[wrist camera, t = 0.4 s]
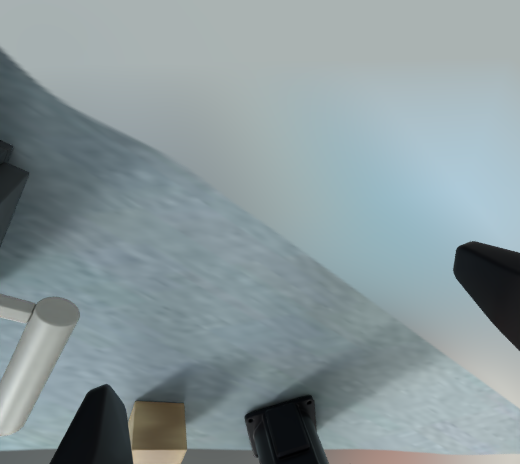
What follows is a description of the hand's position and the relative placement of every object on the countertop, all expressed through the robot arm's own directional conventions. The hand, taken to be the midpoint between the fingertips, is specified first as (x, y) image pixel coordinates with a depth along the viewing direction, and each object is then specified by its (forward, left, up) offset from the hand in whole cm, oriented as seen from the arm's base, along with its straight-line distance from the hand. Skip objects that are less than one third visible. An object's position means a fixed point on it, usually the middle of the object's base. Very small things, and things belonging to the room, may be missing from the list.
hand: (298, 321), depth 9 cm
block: (-21, +9, -15) cm, 27 cm away
